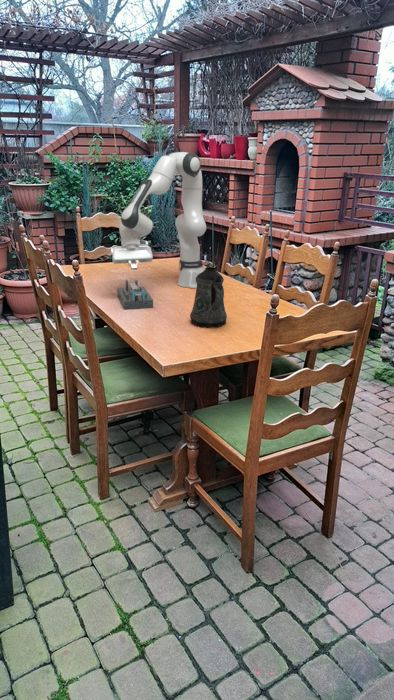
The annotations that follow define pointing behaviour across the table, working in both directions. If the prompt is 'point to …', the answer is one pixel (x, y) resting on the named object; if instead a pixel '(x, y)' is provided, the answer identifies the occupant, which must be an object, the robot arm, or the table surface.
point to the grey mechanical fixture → (134, 297)
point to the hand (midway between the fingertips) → (134, 269)
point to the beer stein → (209, 300)
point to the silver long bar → (134, 287)
